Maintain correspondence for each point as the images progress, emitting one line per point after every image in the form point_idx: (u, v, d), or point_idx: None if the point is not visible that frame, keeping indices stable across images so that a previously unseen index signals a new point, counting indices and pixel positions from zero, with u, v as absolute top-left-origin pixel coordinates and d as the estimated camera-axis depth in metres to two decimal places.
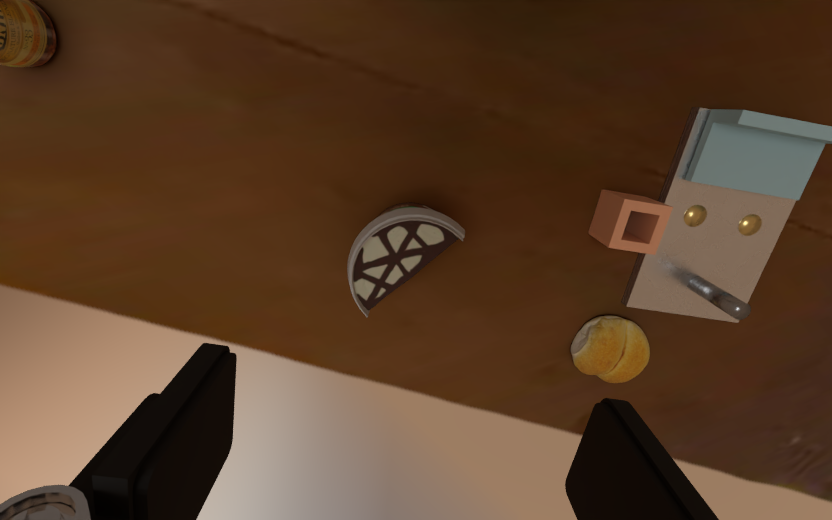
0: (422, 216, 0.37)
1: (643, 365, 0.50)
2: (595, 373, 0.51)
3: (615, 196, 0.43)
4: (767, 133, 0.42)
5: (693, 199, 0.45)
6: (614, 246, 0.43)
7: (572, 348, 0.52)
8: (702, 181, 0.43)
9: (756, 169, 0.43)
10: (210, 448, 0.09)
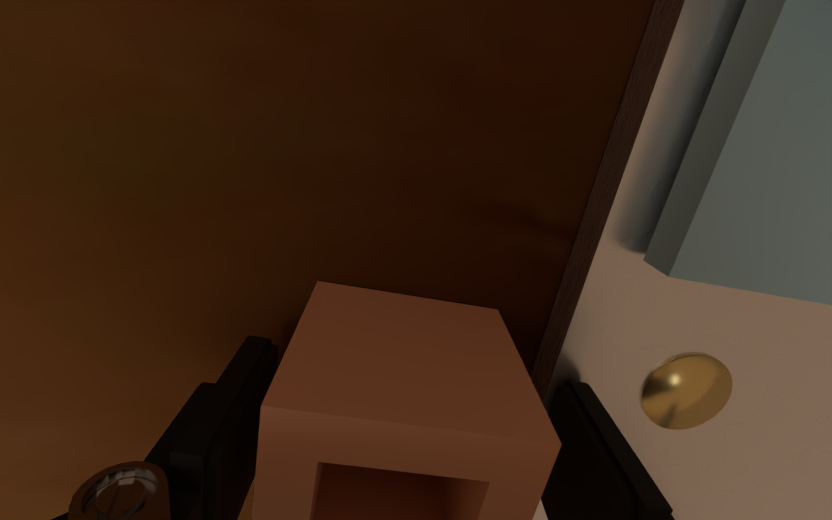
0: None
1: None
2: None
3: None
4: None
5: (680, 334, 0.11)
6: None
7: None
8: (724, 277, 0.09)
9: None
10: (257, 434, 0.10)
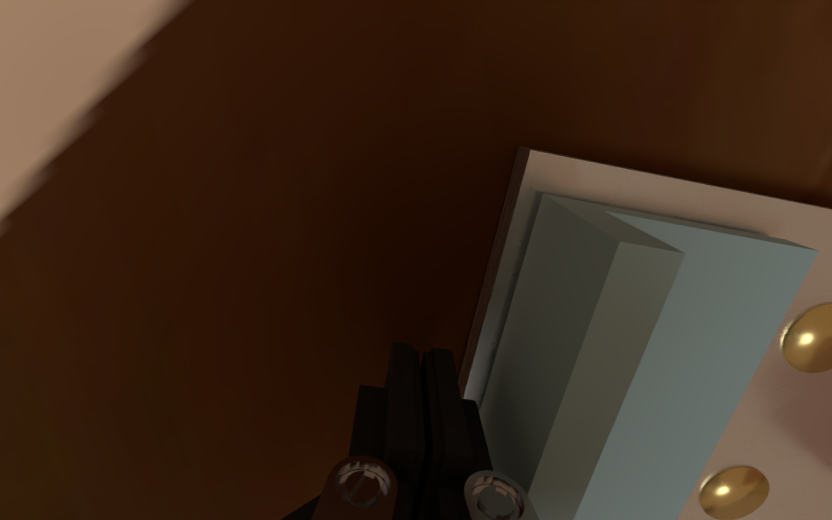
0: None
1: None
2: None
3: None
4: None
5: None
6: None
7: None
8: None
9: (652, 422, 0.13)
10: None
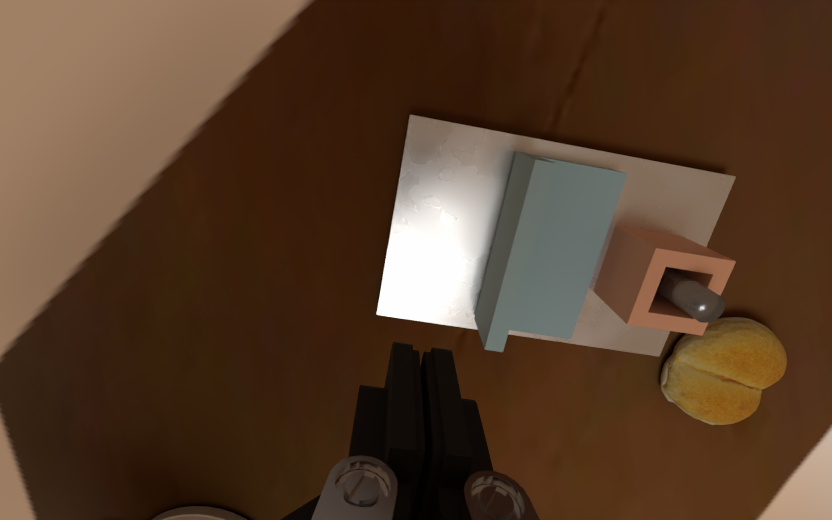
0: None
1: (762, 349, 0.31)
2: None
3: None
4: None
5: None
6: (702, 326, 0.27)
7: None
8: (573, 324, 0.30)
9: (566, 253, 0.29)
10: None
